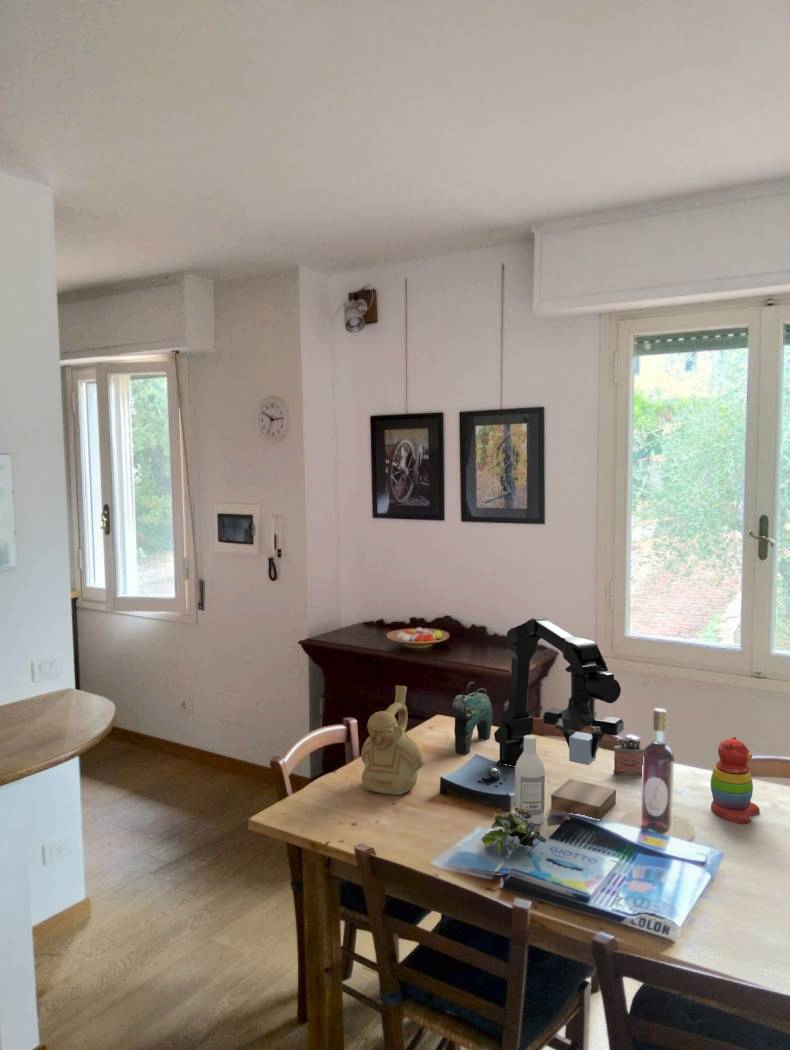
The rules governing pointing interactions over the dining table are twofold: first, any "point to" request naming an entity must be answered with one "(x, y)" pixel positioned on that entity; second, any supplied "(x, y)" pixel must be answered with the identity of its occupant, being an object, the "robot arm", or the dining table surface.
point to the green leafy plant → (513, 831)
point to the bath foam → (530, 782)
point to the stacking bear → (733, 783)
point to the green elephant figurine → (471, 719)
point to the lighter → (628, 758)
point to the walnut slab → (583, 799)
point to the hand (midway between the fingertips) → (582, 755)
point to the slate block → (581, 748)
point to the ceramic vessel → (390, 751)
